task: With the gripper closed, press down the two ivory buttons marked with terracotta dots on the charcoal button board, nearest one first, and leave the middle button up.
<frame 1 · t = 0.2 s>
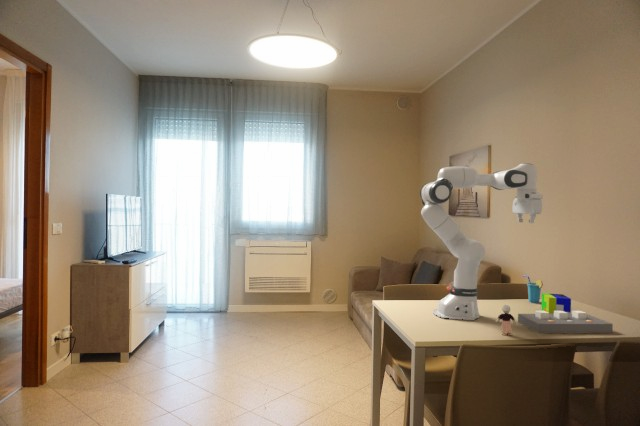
hand: (525, 222, 199), 47 cm above the table, tool pointing down, fingers open, 8 cm apart
grandmother figurine: (505, 334, 169), on the table
button far: (579, 315, 183), point 5 cm above the table, slide at 0.0 cm
button board: (563, 327, 181), on the table
button near: (542, 314, 182), point 5 cm above the table, slide at 0.0 cm
puzzle toy: (555, 315, 201), on the table
cup: (532, 302, 229), on the table
button middle: (560, 315, 183), point 5 cm above the table, slide at 0.0 cm
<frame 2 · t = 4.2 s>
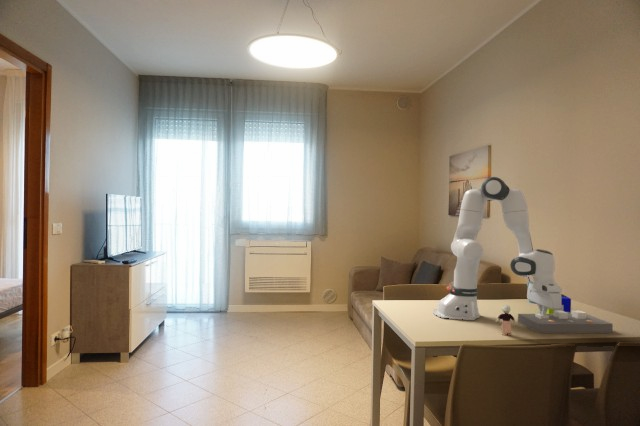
hand: (542, 314, 182), 5 cm above the table, tool pointing down, fingers closed, pressing on button near
button near: (541, 317, 182), point 4 cm above the table, slide at 1.3 cm, touching gripper
everything else where it was.
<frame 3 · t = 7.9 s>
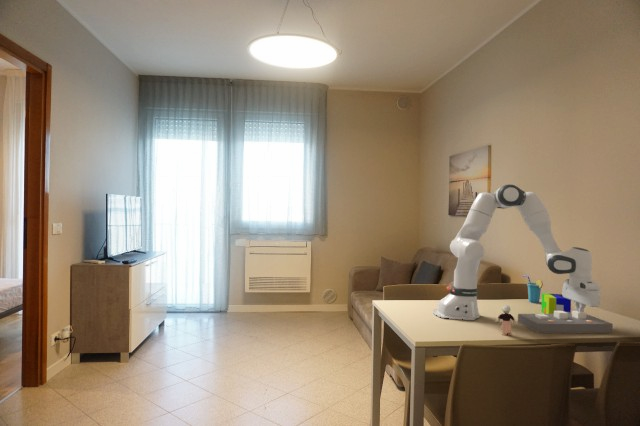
hand: (579, 311, 183), 7 cm above the table, tool pointing down, fingers closed, pressing on button far
button far: (579, 315, 183), point 5 cm above the table, slide at 0.0 cm, touching gripper
button near: (541, 318, 182), point 4 cm above the table, slide at 1.6 cm
everything else where it was.
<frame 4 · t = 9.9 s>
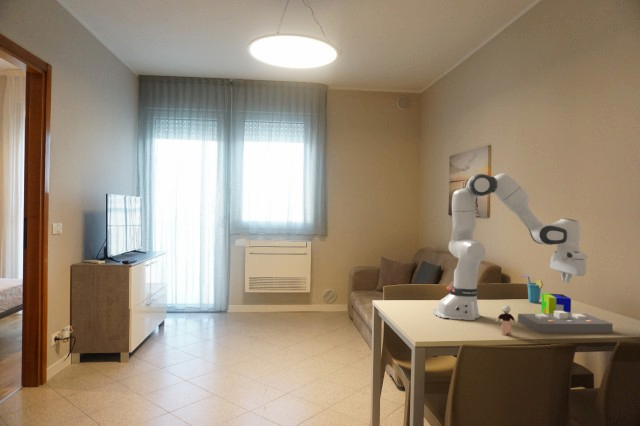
hand: (565, 282, 186), 20 cm above the table, tool pointing down, fingers closed
button far: (579, 318, 183), point 4 cm above the table, slide at 1.5 cm
everything else where it was.
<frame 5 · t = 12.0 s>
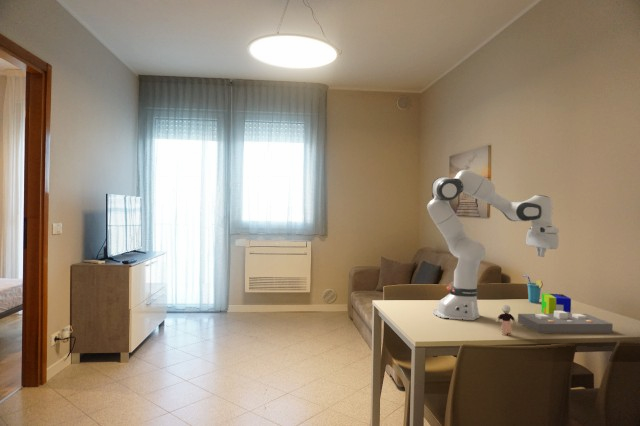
hand: (540, 256, 192), 31 cm above the table, tool pointing down, fingers closed
nothing on the table moved.
at the end: button near slide at 1.6 cm; button far slide at 1.5 cm; button middle slide at 0.0 cm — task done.
